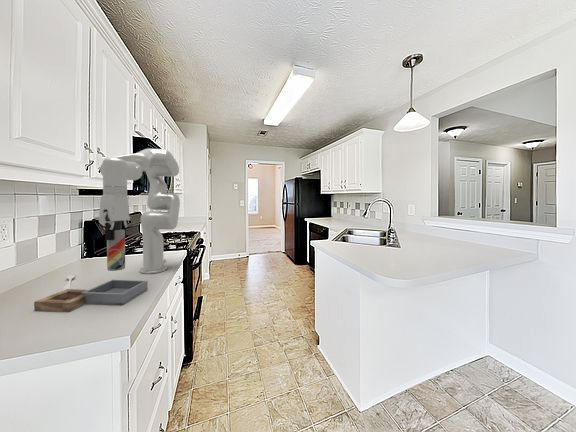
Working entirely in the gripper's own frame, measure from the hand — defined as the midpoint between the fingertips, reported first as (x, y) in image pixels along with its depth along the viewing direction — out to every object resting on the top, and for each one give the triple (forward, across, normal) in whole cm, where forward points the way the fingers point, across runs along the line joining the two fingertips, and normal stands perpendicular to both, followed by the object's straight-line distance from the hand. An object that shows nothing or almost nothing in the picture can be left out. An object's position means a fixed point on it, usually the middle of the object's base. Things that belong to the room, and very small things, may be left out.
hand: (116, 238), depth 94 cm
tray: (+23, 0, 0) cm, 23 cm away
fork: (+23, -13, -32) cm, 41 cm away
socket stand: (+23, +8, -12) cm, 27 cm away
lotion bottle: (+12, 0, 0) cm, 12 cm away
